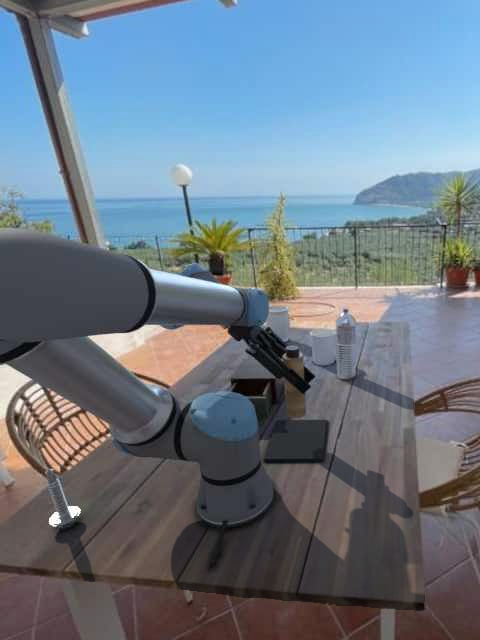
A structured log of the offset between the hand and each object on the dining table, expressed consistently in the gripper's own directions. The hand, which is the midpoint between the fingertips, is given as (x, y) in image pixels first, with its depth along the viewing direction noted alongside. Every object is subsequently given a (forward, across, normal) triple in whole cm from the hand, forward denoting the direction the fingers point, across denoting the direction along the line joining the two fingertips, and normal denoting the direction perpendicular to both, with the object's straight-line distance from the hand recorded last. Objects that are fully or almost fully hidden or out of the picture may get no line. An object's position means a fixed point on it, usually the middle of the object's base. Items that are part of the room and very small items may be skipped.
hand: (309, 384), depth 96 cm
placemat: (+9, 0, -14) cm, 17 cm away
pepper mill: (+3, 0, -8) cm, 9 cm away
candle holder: (+8, -54, -16) cm, 57 cm away
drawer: (-4, -13, -26) cm, 29 cm away
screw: (-18, +32, -41) cm, 55 cm away
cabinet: (-4, -26, -27) cm, 38 cm away
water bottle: (+15, -41, -8) cm, 44 cm away
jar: (-9, -77, -33) cm, 84 cm away
